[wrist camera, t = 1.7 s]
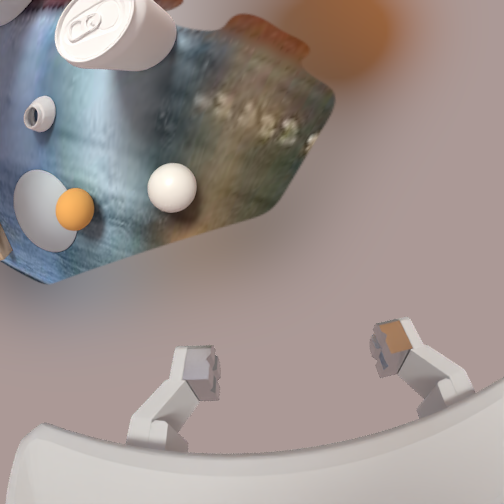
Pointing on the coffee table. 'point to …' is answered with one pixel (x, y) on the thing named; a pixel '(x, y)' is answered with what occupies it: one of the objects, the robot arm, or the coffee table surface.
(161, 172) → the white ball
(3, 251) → the wall
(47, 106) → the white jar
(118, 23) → the beverage can
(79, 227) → the orange ball
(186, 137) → the coffee table surface
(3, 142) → the coffee table surface
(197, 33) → the coffee table surface
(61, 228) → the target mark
